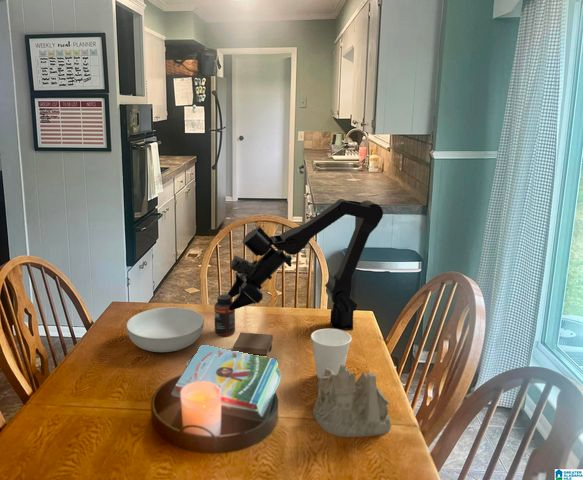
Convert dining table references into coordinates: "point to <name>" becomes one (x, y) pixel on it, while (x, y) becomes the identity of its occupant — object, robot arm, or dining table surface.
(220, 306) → the supplement bottle
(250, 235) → the robot arm
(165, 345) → the serving bowl
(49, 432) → the dining table surface
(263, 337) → the dark brown coaster
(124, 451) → the dining table surface
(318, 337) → the cup
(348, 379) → the grey castle model
